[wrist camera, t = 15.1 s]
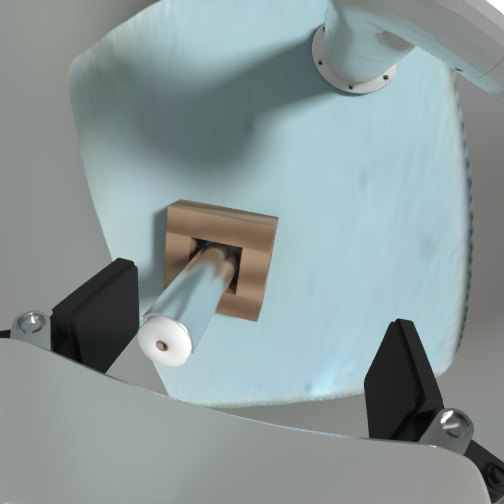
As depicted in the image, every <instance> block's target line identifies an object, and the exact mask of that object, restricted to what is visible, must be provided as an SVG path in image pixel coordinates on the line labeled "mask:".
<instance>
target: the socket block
mask: <svg viewBox="0 0 504 504" xmlns="http://www.w3.org/2000/svg"><path fill="white" fill-rule="evenodd" d="M277 223H278V217H273V216H268V215H263V214H258V213H253V212H248V211H242V210H237V209H232V208H226V207H221V206H215V205H210V204H204V203H199V202H193V201H187V200H181V199H180V200H179V201H177V202H175V203H173V204H172V205H170V206H168V211H167V228H166V248H165V277H164V291H165V290H166V289H167V287H168V286H169V285H170V284H171V283H172V282H173V281H174V279H175V278H176V277H177V276H178V275H179V274H180V273H181V271H182V270H183V269H184V268H185V267H186V266H187V265H188V263H189V262H190V261H191V260H192V259H193V258H194V257H195V256H196V254H197V253H198V252H199V246H200V239H203V240H208V241H213V242H218V243H222V244H227V245H232V246H237V247H242V248H243V249H242V256H241V263H240V270H239V277H238V280H236V279H232V281H231V282H230V284H229V286H228V288H227V290H226V292H225V294H224V296H223V298H222V299H221V301H220V303H219V305H218V307H217V309H216V311H215V312H217V313H221V314H225V315H229V316H234V317H238V318H242V319H247V320H251V321H255V322H257V321H258V317H259V314H260V311H261V307H262V303H263V298H264V293H265V287H266V282H267V277H268V272H269V266H270V261H271V256H272V250H273V245H274V240H275V234H276V229H277Z"/></svg>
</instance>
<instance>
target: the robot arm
mask: <svg viewBox="0 0 504 504" xmlns="http://www.w3.org/2000/svg"><path fill="white" fill-rule="evenodd" d="M323 30H325V32H324V31H323ZM416 46H417V47H419V48H422V49H423V50H425V51H427V52H428V53H430V54H431V55H433V56H435V57H436V58H438V59H439V60H441V61H442V62H444V63H445V64H447V65H448V66H450V67H451V68H453V69H454V70H456V71H457V72H459V73H460V74H461V75H463V76H464V77H466V78H467V79H469V80H470V81H472V82H473V83H474V84H476V85H477V86H479V87H480V88H482V89H483V90H485V91H486V92H488V93H490V94H492V95H494V96H497V97H501V98H504V0H328V6H327V15H326V22H325V23H324V24H323V25H322V26H321V27H320V28H319V29H318V30H317V32H316V34H315V36H314V39H313V42H312V57H313V60H314V64H315V66H316V68H317V70H318V71H319V73H320V74H321V75H322V77H323V78H324V79H325V80H326V81H328V82H329V83H330V84H331V85H333V86H334V87H336V88H338V89H340V90H342V91H345V92H349V93H355V94H366V93H371V92H375V91H377V90H379V89H381V88H383V87H384V86H385V85H387V84H388V83H389V82H390V81H391V79H392V78H393V76H394V75H395V72H396V69H397V65H398V61H400V60H401V59H402V58H403V57H405V56H406V55H407V54H408V53H410V52H411V51H412V50H413V49H414V48H415V47H416ZM319 62H321V63H322V64H321V65H319ZM383 77H385V78H386V80H384V79H383ZM349 86H351V87H352V89H349ZM52 311H53V315H51V316H50V317H49V316H48V315H47V314H46V313H44V312H41V311H27V312H25V313H22V314H20V315H19V316H17V317H16V318H15V320H14V321H13V323H12V327H11V330H5V331H0V504H504V463H503V462H502V461H501V460H500V459H498V458H497V457H495V456H494V455H493V454H491V453H490V452H488V451H487V450H486V449H484V448H483V447H482V446H480V445H479V444H477V443H476V442H475V441H473V440H472V439H471V438H472V436H473V433H474V426H473V423H472V421H471V420H470V418H469V417H468V416H467V415H466V414H465V413H464V412H462V411H460V410H458V409H455V408H444V405H443V402H442V401H443V399H442V397H441V394H440V391H439V388H438V385H437V382H436V379H435V377H434V374H433V371H432V368H431V366H430V363H429V361H428V358H427V355H426V353H425V350H424V348H423V345H422V343H421V340H420V338H419V335H418V333H417V331H416V328H415V326H414V323H413V322H412V321H410V320H404V319H396V320H395V322H391V323H390V324H389V326H388V329H387V331H386V333H385V336H384V338H383V340H382V343H381V345H380V347H379V349H378V351H377V354H376V356H375V358H374V360H373V362H372V364H371V366H370V368H369V370H368V372H367V374H366V377H365V380H364V390H365V399H366V408H367V418H368V428H369V438H364V437H354V436H346V435H338V434H330V433H323V432H316V431H309V430H303V429H297V428H292V427H286V426H281V425H275V424H271V423H266V422H261V421H256V420H252V419H248V418H243V417H239V416H235V415H231V414H226V413H223V412H219V411H215V410H212V409H208V408H204V407H201V406H197V405H194V404H190V403H187V402H184V401H181V400H177V399H174V398H171V397H168V396H165V395H161V394H159V393H156V392H153V391H150V390H147V389H144V388H141V387H138V386H136V385H133V384H130V383H128V382H125V381H122V380H120V379H117V378H115V377H112V376H110V375H107V374H105V373H106V372H107V370H108V369H109V368H110V366H111V365H112V364H113V363H114V361H115V360H116V359H117V358H118V356H119V355H120V354H121V352H122V351H123V350H124V349H125V348H126V346H127V345H128V344H129V343H130V341H131V340H132V339H133V338H134V336H135V335H136V334H137V332H138V330H139V326H140V322H139V300H138V268H137V266H135V265H134V262H133V261H130V260H127V259H123V258H117V259H116V260H115V261H113V262H112V263H111V264H109V265H108V266H107V267H105V268H104V269H103V270H101V271H100V272H99V273H97V274H96V275H95V276H94V277H92V278H91V279H89V280H88V281H87V282H85V283H84V284H83V285H82V286H80V287H79V288H78V289H77V290H75V291H74V292H73V293H71V294H70V295H69V296H68V297H66V298H65V299H64V300H63V301H61V302H60V303H59V304H58V305H56V306H55V307H54V308H53V309H52Z"/></svg>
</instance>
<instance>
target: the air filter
mask: <svg viewBox="0 0 504 504" xmlns="http://www.w3.org/2000/svg"><path fill="white" fill-rule="evenodd" d="M241 256H242V250H241V247H237V246H232V245H227V244H222V243H218V242H213V241H208V242H207V243H206V244H205V245H204V247H203V248H202V249H201V250H200V251H199V252H198V253H197V254H196V256H195V257H194V258H193V259H192V260H191V261H190V262H189V263H188V265H187V266H186V267H185V268H184V269H183V270H182V271H181V273H180V274H179V275H178V276H177V277H176V278H175V279H174V281H173V282H172V283H171V284H170V285H169V286H168V287H167V289H166V290H165V291H164V292H163V293H162V294H161V296H160V297H159V298H158V299H157V300H156V301H155V303H154V304H153V305H152V306H151V307H150V308H149V310H148V311H147V312H146V313H145V314H144V315H143V319H142V320H141V322H140V326H139V330H138V332H137V336H138V341H139V344H140V347H141V349H142V351H143V352H144V353H145V354H146V355H147V356H148V357H149V358H150V359H151V360H153V361H154V362H156V363H158V364H160V365H163V366H167V367H177V366H180V365H182V364H183V363H185V362H186V360H187V359H188V357H189V355H190V353H194V351H195V349H196V347H197V345H198V343H199V341H200V339H201V337H202V336H203V334H204V332H205V330H206V328H207V326H208V324H209V322H210V320H211V318H212V317H213V315H214V313H215V311H216V309H217V307H218V305H219V303H220V301H221V299H222V298H223V296H224V294H225V292H226V290H227V288H228V286H229V284H230V282H231V281H232V279H233V277H234V275H235V273H236V271H237V269H238V267H239V265H240V263H241Z"/></svg>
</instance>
